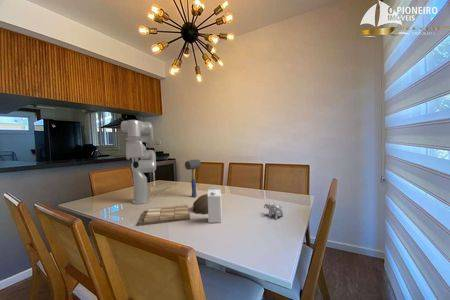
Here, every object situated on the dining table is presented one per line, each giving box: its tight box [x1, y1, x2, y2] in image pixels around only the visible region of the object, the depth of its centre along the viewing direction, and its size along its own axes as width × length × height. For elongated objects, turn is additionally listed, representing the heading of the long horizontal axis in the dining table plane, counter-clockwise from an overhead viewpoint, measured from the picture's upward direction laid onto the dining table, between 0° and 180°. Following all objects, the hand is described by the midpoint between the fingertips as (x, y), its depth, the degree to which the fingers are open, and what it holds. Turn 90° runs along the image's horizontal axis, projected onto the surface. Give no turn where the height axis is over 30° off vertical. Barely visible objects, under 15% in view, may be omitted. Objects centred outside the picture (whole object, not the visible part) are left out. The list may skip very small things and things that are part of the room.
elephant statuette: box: [263, 201, 284, 220], centre depth 122 cm, size 9×12×8 cm
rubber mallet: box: [184, 159, 202, 198], centre depth 166 cm, size 12×8×30 cm, turn 143°
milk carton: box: [207, 186, 223, 224], centre depth 118 cm, size 7×7×19 cm
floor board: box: [137, 204, 191, 227], centre depth 127 cm, size 20×28×3 cm
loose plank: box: [146, 206, 162, 216], centre depth 128 cm, size 13×8×2 cm, turn 13°
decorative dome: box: [191, 193, 208, 215], centre depth 138 cm, size 19×20×10 cm
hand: (136, 167), depth 134 cm, fingers closed
